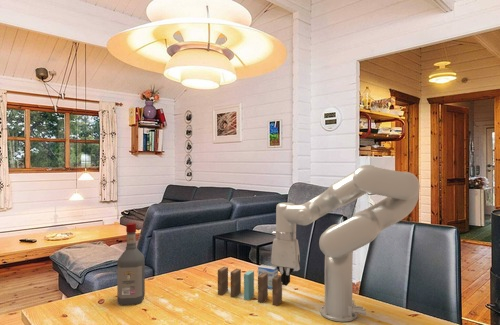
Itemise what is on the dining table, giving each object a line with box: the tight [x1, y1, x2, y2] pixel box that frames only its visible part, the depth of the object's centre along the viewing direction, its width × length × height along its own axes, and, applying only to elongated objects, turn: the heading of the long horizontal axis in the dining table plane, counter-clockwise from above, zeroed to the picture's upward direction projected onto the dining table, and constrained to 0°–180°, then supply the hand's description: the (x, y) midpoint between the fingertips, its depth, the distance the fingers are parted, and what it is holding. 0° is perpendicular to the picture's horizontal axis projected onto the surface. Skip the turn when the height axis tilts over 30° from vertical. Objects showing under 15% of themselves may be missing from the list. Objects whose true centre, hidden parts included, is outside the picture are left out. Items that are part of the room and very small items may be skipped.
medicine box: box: [257, 264, 279, 290], centre depth 148 cm, size 8×4×9 cm, turn 62°
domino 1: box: [217, 266, 229, 296], centre depth 141 cm, size 2×5×10 cm, turn 154°
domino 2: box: [230, 268, 242, 299], centre depth 139 cm, size 2×5×10 cm, turn 154°
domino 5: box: [271, 274, 283, 307], centre depth 131 cm, size 2×5×10 cm, turn 154°
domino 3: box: [243, 270, 255, 301], centre depth 136 cm, size 2×5×10 cm, turn 154°
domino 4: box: [257, 273, 269, 304], centre depth 134 cm, size 2×5×10 cm, turn 154°
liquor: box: [116, 222, 146, 307], centre depth 133 cm, size 9×9×30 cm
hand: (285, 284), depth 129 cm, fingers closed
